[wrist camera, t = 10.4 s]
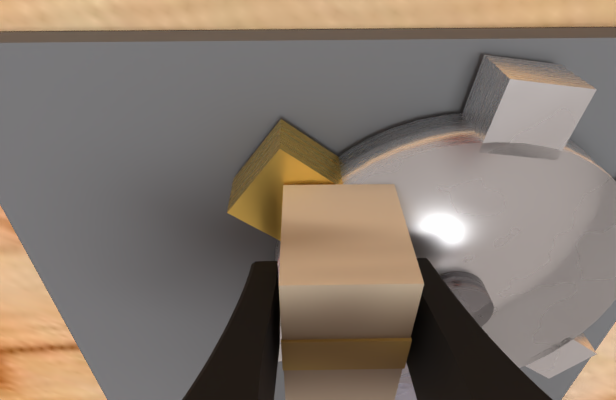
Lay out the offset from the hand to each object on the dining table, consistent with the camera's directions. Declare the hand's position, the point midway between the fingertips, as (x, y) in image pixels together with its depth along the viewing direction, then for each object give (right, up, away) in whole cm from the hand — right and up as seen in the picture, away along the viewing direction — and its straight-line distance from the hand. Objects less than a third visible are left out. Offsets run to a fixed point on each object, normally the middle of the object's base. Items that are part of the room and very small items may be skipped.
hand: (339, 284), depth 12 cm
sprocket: (+4, 0, +4) cm, 6 cm away
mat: (+1, -1, +6) cm, 6 cm away
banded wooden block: (0, +1, +1) cm, 1 cm away
